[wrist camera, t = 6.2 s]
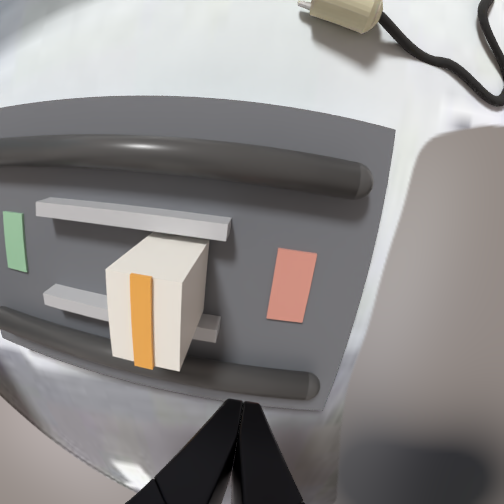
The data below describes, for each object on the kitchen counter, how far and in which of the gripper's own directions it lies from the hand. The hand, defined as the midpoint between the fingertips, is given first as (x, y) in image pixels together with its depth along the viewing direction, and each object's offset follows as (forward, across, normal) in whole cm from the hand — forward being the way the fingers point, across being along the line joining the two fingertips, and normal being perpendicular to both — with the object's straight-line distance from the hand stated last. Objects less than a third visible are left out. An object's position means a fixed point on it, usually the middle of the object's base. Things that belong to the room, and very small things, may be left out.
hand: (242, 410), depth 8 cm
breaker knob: (+9, +4, 0) cm, 10 cm away
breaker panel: (+12, +8, 0) cm, 14 cm away
